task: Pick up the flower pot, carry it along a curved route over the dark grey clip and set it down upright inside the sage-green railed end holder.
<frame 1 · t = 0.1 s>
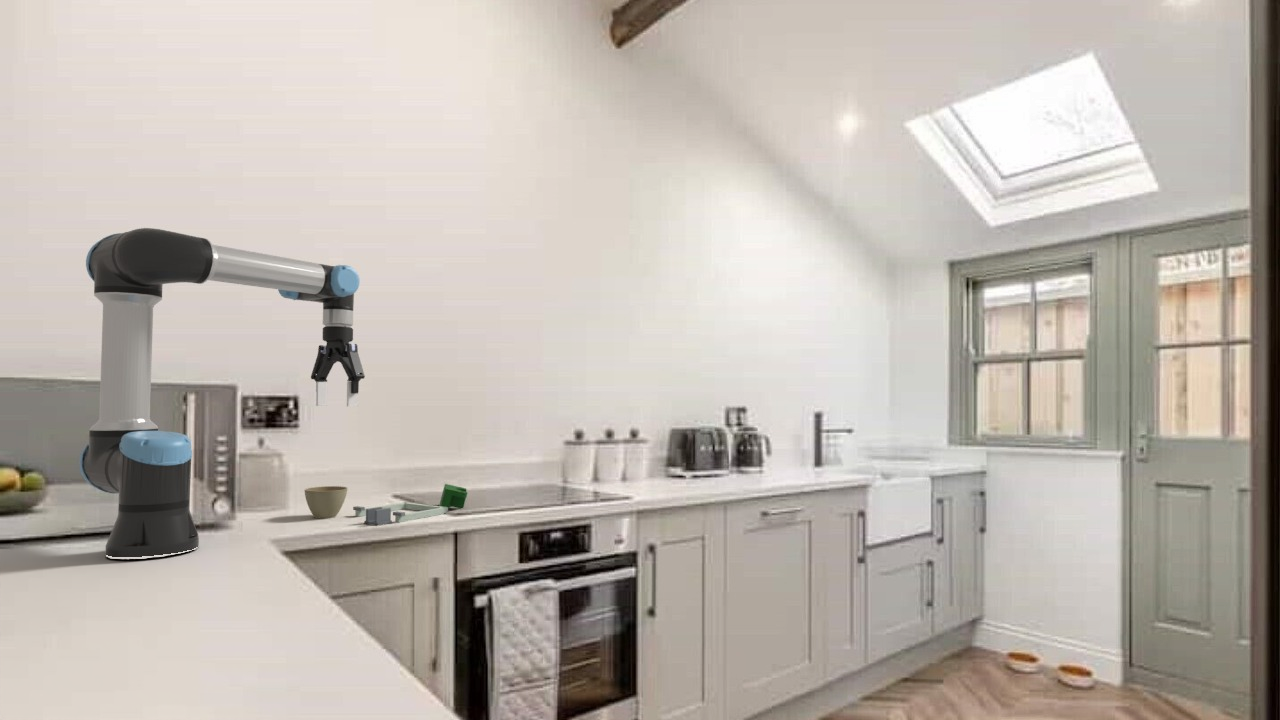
hand: (336, 406, 190), 28 cm above the worktop, fingers open, 13 cm apart
clamp: (453, 508, 196), on the worktop
holder: (401, 514, 183), on the worktop
flower pot: (325, 517, 181), on the worktop
clip: (378, 523, 171), on the worktop
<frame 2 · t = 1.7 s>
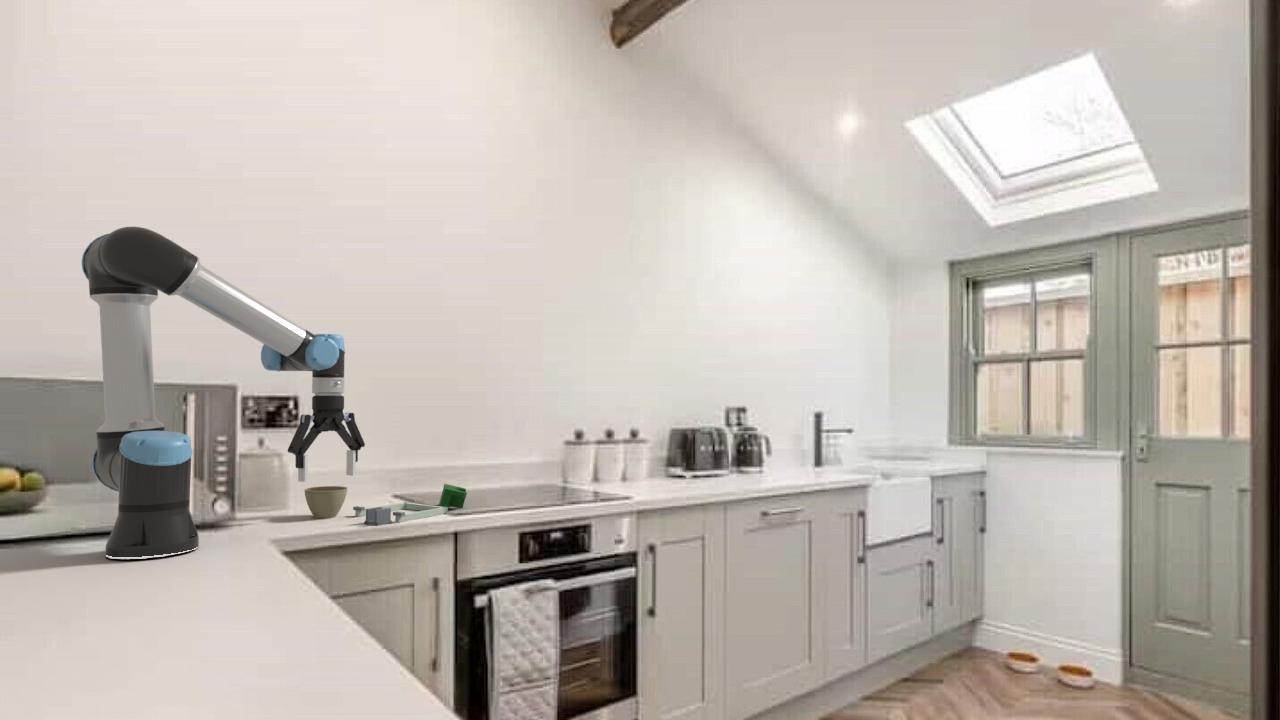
hand: (327, 478, 181), 10 cm above the worktop, fingers open, 13 cm apart
nothing on the worktop moved.
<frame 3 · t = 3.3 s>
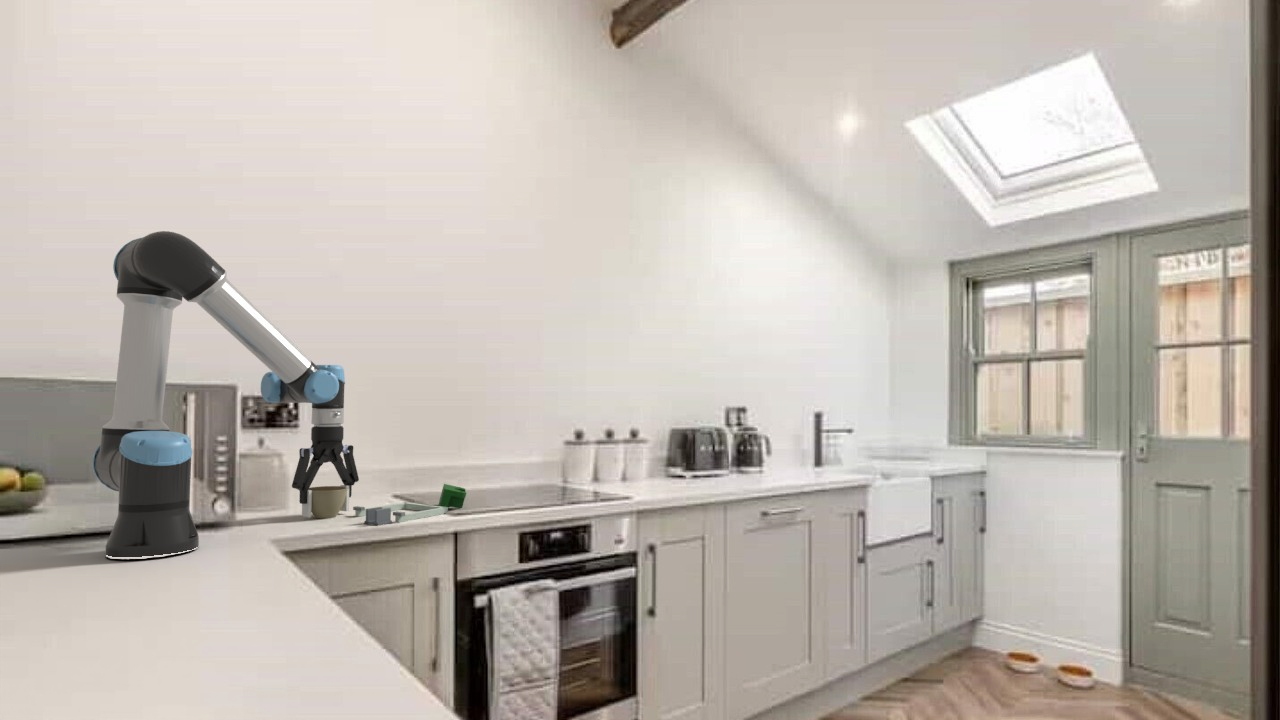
hand: (325, 513, 181), 1 cm above the worktop, fingers closed on flower pot, 10 cm apart
flower pot: (325, 517, 181), on the worktop, touching gripper
everything else where it was.
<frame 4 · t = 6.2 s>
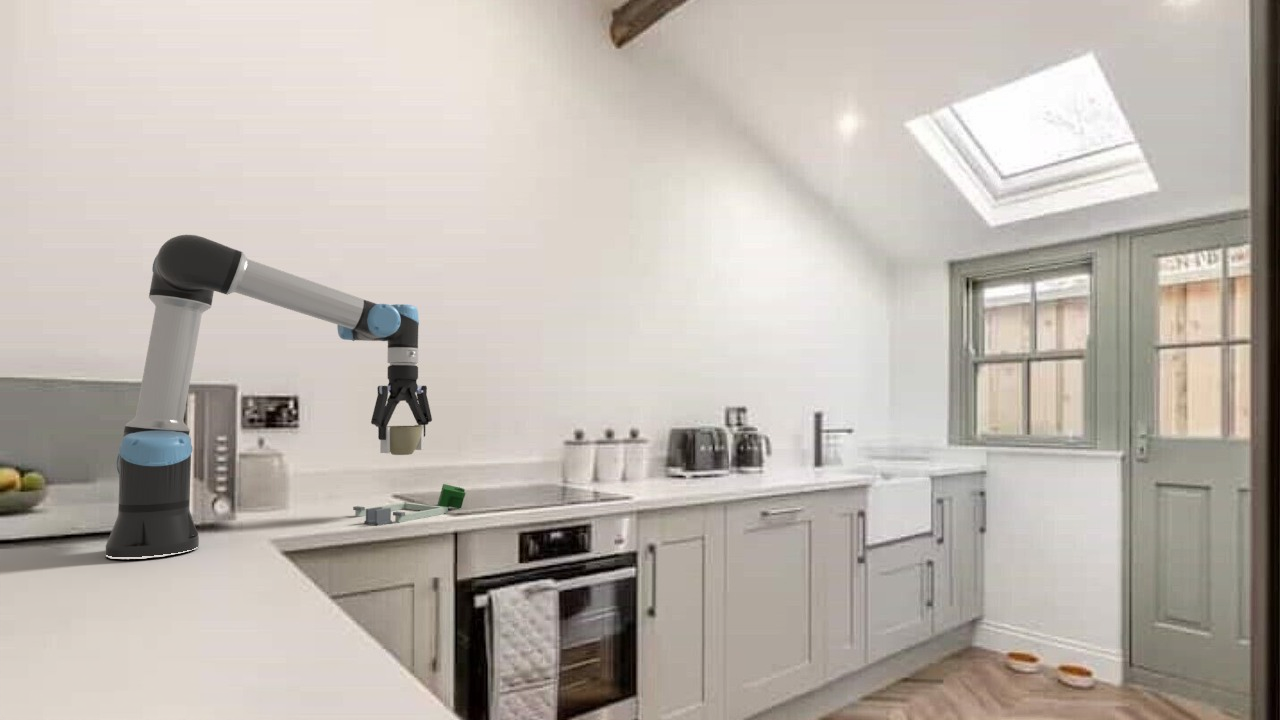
hand: (402, 451, 183), 16 cm above the worktop, fingers closed on flower pot, 10 cm apart
flower pot: (402, 455, 183), point 15 cm above the worktop, touching gripper
everything else where it was.
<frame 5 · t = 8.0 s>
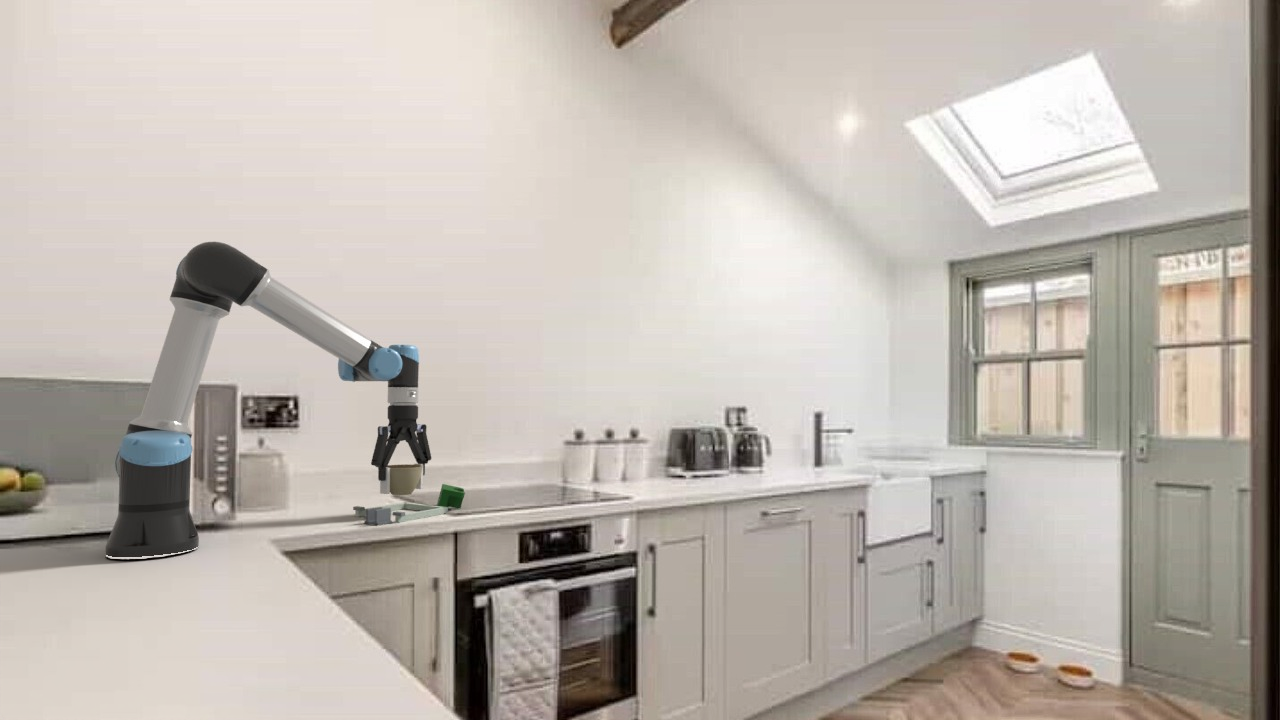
hand: (402, 491, 184), 6 cm above the worktop, fingers closed on flower pot, 10 cm apart
flower pot: (402, 494, 184), point 5 cm above the worktop, touching gripper
everything else where it was.
when the fingers open (3 cm above the worktop, at t = 9.3 s): flower pot drops 2 cm, on the worktop.
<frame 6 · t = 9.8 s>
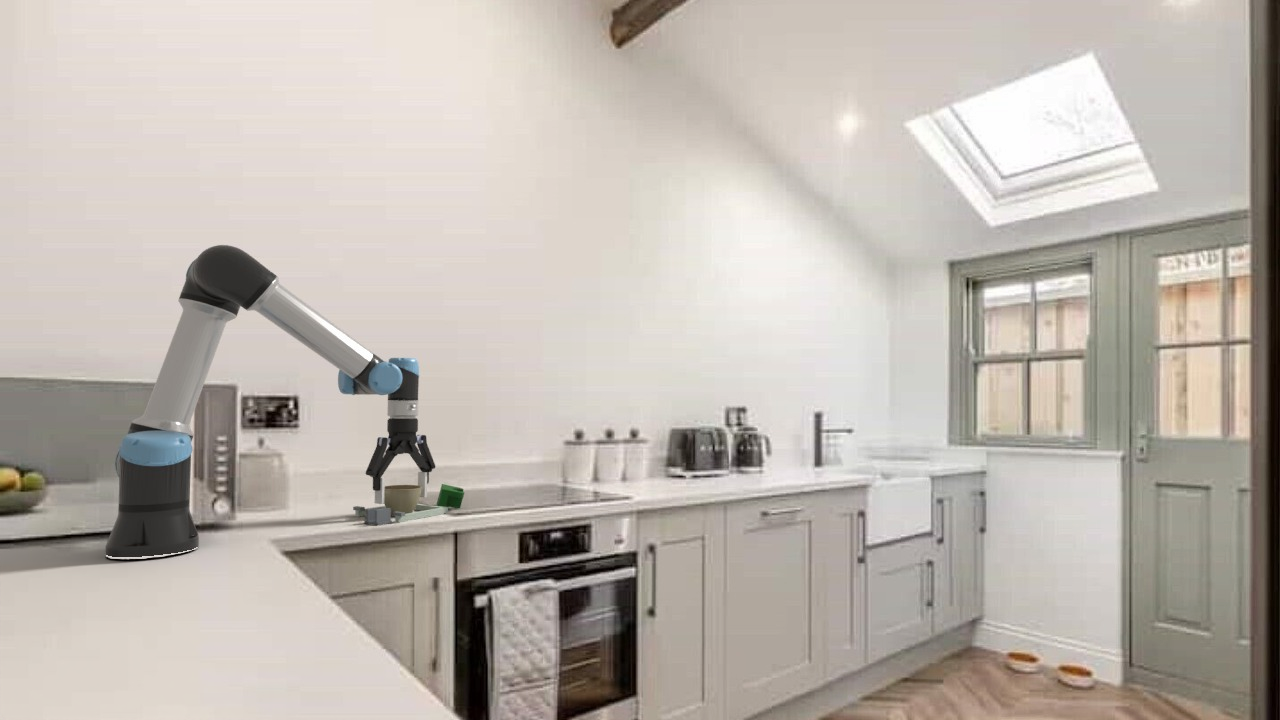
hand: (401, 500, 184), 4 cm above the worktop, fingers open, 13 cm apart
flower pot: (401, 515, 183), on the worktop
everything else where it was.
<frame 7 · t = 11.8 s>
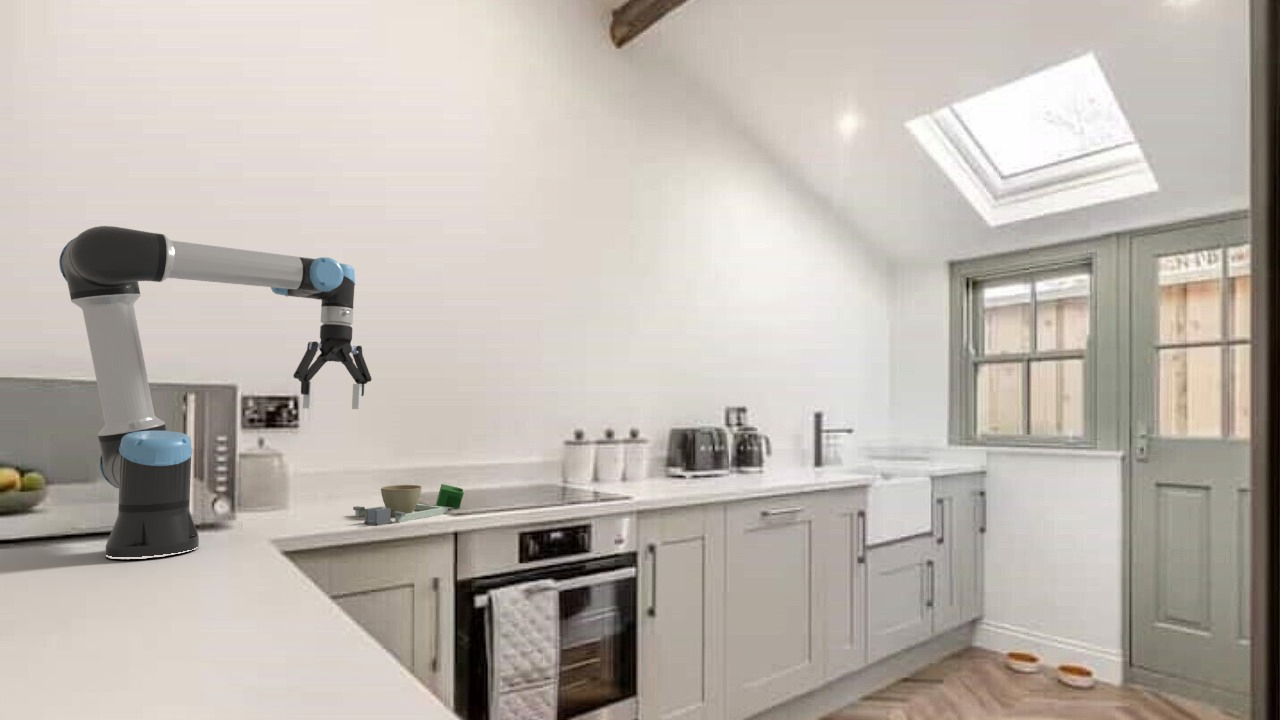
hand: (332, 408, 180), 27 cm above the worktop, fingers open, 13 cm apart
nothing on the worktop moved.
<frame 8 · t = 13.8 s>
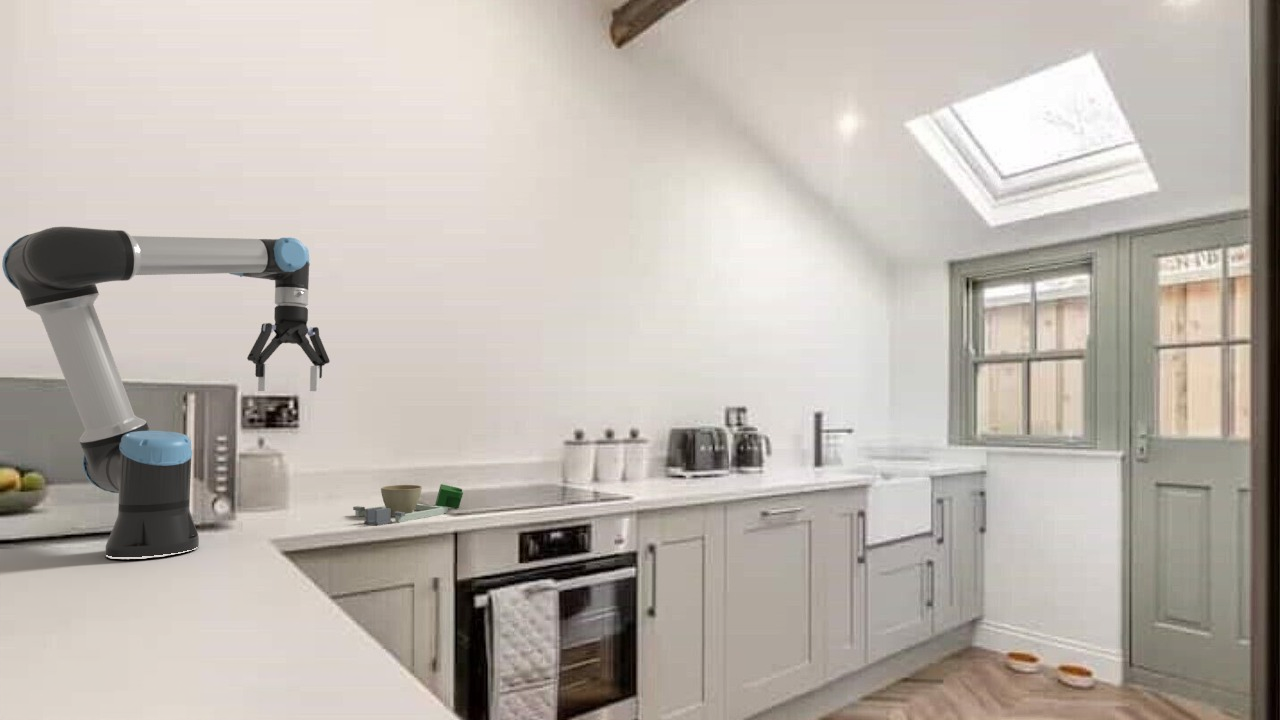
hand: (289, 391, 177), 32 cm above the worktop, fingers open, 13 cm apart
at the end: flower pot inside the target area on the holder (0.1 cm from its centre), point 0.0 cm above the holder's base; flower pot tilted 0°; the gripper is holding nothing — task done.
